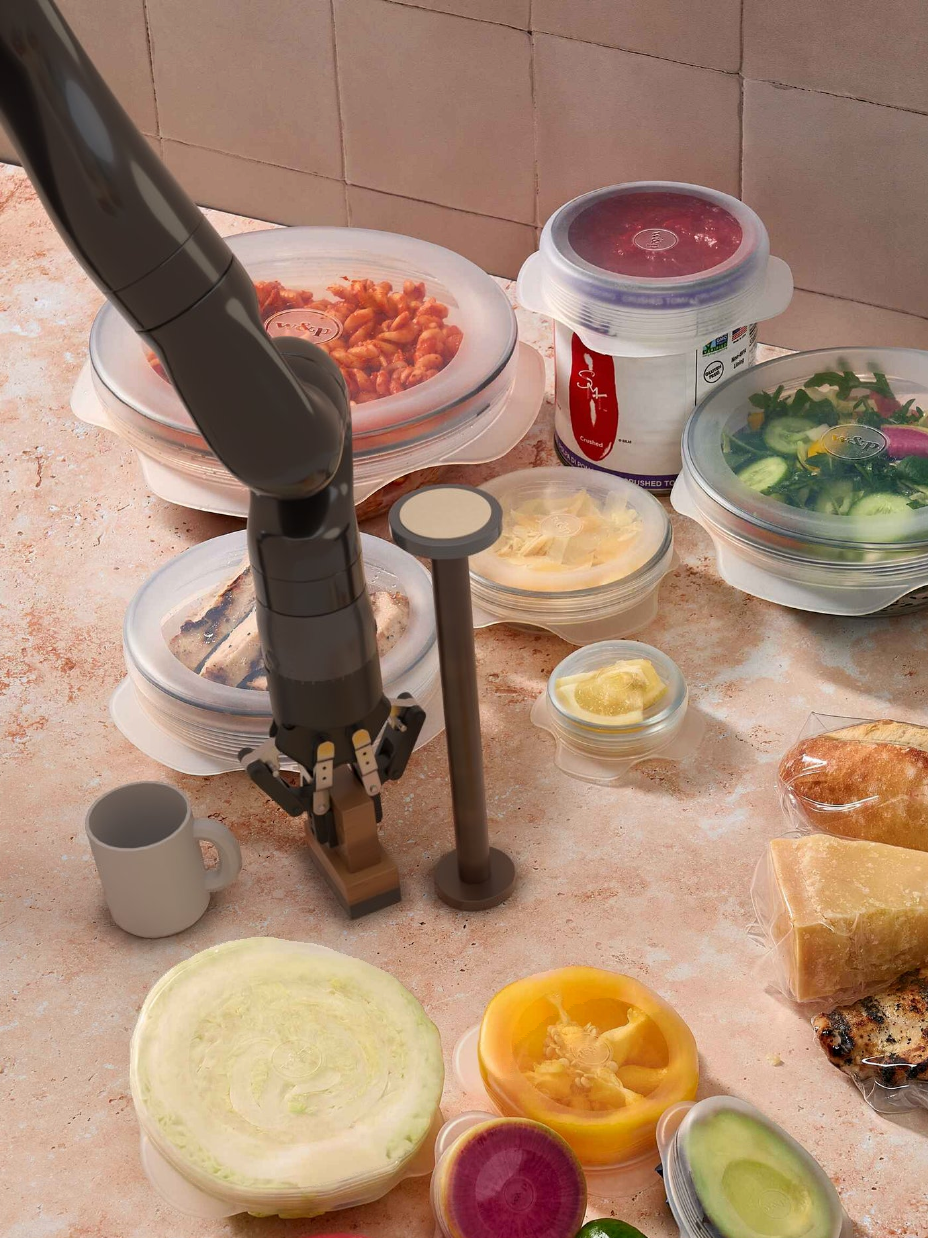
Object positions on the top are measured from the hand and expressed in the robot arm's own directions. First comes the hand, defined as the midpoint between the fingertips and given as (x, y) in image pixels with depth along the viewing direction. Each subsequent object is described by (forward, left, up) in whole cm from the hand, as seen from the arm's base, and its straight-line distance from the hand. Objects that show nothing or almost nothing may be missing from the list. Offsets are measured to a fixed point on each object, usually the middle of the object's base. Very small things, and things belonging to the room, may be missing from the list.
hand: (347, 832), depth 121 cm
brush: (0, 0, -5) cm, 5 cm away
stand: (+8, -5, -5) cm, 10 cm away
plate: (+8, -5, +26) cm, 28 cm away
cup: (-12, +4, -5) cm, 14 cm away
